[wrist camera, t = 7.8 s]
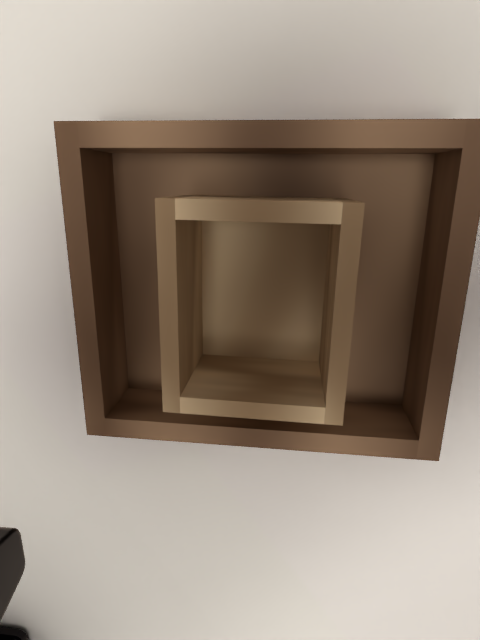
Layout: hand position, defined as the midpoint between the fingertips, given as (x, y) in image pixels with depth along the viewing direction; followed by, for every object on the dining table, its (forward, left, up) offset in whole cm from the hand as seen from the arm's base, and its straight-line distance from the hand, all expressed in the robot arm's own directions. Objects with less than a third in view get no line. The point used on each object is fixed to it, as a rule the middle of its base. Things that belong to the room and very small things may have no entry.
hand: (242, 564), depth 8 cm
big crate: (0, +3, -12) cm, 12 cm away
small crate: (0, +3, -11) cm, 11 cm away
